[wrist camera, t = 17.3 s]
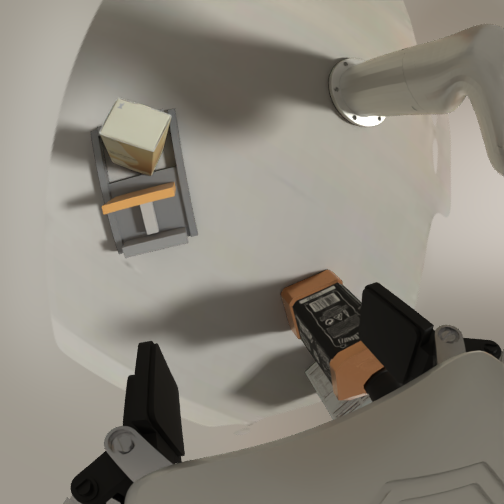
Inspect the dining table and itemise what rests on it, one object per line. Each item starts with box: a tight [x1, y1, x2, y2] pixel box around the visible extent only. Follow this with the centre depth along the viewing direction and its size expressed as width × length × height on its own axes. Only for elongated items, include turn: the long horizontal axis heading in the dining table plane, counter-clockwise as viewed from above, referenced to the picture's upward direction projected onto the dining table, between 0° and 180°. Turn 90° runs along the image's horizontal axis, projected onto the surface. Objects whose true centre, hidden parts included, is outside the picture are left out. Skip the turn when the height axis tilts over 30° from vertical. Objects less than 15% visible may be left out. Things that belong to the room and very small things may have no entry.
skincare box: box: [99, 98, 172, 176], centre depth 27 cm, size 6×4×12 cm
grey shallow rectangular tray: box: [91, 109, 198, 258], centre depth 33 cm, size 12×18×4 cm, turn 8°
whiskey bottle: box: [281, 270, 403, 402], centre depth 34 cm, size 10×10×32 cm
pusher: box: [102, 182, 176, 235], centre depth 32 cm, size 9×6×7 cm
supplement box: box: [305, 362, 372, 420], centre depth 50 cm, size 13×13×18 cm
